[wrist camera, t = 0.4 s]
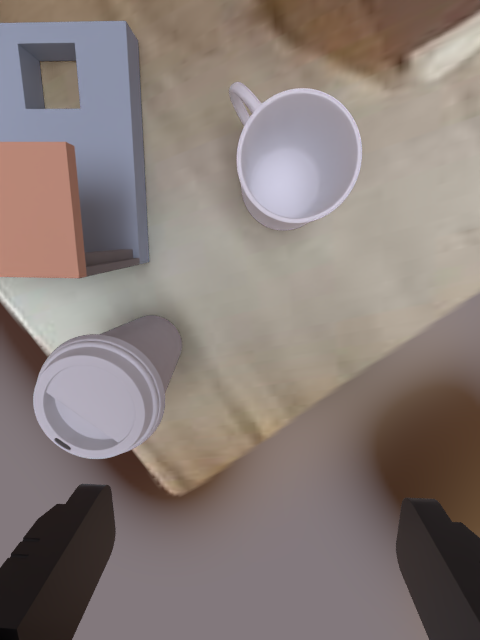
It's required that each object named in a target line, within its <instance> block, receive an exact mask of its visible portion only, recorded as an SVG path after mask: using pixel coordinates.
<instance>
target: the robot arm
mask: <svg viewBox="0 0 480 640" xmlns="http://www.w3.org/2000/svg"><path fill="white" fill-rule="evenodd" d="M114 541H115V520H114V511H113V502H112V493H111V488H110V486H109V485H95V484H81V485H79V486H78V487H77V489H76V490H75V491H74V493H73V494H72V495H71V497H70V498H69V500H68V501H67V502H66V504H56V505H55V506H54V507H53V508H52V509H50V510H49V511H48V512H46V513H45V514H44V515H43V516H41V517H40V518H39V519H38V520H37V521H36V522H35V524H34V525H33V526H32V527H31V529H30V530H29V531H28V533H27V534H26V535H25V536H24V538H23V541H22V542H20V543H19V544H18V546H17V547H16V548H15V550H14V551H13V552H12V553H11V557H10V558H8V559H7V560H6V561H5V562H4V564H3V565H2V566H1V568H0V640H72V638H73V636H74V634H75V632H76V630H77V627H78V625H79V623H80V621H81V619H82V616H83V614H84V612H85V610H86V608H87V606H88V603H89V601H90V599H91V597H92V595H93V592H94V590H95V588H96V586H97V584H98V582H99V579H100V577H101V575H102V573H103V571H104V568H105V566H106V564H107V562H108V560H109V557H110V555H111V552H112V549H113V546H114ZM396 553H397V559H398V564H399V568H400V571H401V573H402V575H403V578H404V580H405V583H406V585H407V587H408V590H409V592H410V595H411V597H412V599H413V602H414V604H415V606H416V609H417V611H418V614H419V616H420V619H421V621H422V623H423V626H424V628H425V630H426V633H427V635H428V637H429V640H480V538H479V537H478V536H477V535H475V534H474V533H473V532H472V531H471V530H469V529H468V528H467V527H466V526H465V525H464V524H463V523H461V522H452V521H451V520H450V518H449V517H448V515H447V514H446V512H445V511H444V509H443V508H442V506H441V505H440V503H439V502H438V501H437V500H435V499H421V498H405V499H404V500H403V501H402V507H401V513H400V520H399V527H398V534H397V541H396Z"/></svg>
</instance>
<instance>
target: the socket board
mask: <svg viewBox="0 0 480 640" xmlns="http://www.w3.org/2000/svg"><path fill="white" fill-rule="evenodd" d="M40 61H76V63H77V74H78V85H79V96H80V108H81V109H45V106H44V97H43V88H42V79H41V70H40ZM147 262H149V246H148V226H147V206H146V187H145V167H144V147H143V128H142V108H141V88H140V68H139V49H138V40H137V38H136V37H135V35H134V33H133V32H132V30H131V29H130V27H129V25H128V24H127V22H126V21H90V22H36V23H0V277H42V278H82V277H87V276H91V275H95V274H100V273H104V272H108V271H113V270H117V269H121V268H126V267H130V266H134V265H139V264H143V263H147Z"/></svg>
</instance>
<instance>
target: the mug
mask: <svg viewBox="0 0 480 640" xmlns="http://www.w3.org/2000/svg"><path fill="white" fill-rule="evenodd" d="M229 96H230V99H231V102H232V104H233V106H234V109H235V111H236V113H237V115H238V116H239V118H240V120H241V122H242V124H243V125H244V128H243V130H242V133H241V136H240V139H239V143H238V148H237V171H238V176H239V180H240V183H241V191H242V197H243V200H244V203H245V205H246V207H247V209H248V211H249V212H250V214H251V215H252V216H253V217H254V218H255V219H256V220H257V221H258V222H259V223H261V224H262V225H264V226H266V227H268V228H271V229H275V230H293V229H296V228H299V227H301V226H304V225H305V224H307V223H308V222H311V221H314V220H317V219H320V218H322V217H324V216H326V215H327V214H329V213H331V212H332V211H333V210H335V209H336V208H337V207H338V206H339V205H340V204H341V203H342V202H343V201H344V200H345V199H346V198H347V196H348V195H349V193H350V192H351V190H352V188H353V187H354V185H355V183H356V180H357V178H358V175H359V171H360V167H361V161H362V143H361V137H360V133H359V130H358V127H357V125H356V123H355V121H354V119H353V117H352V115H351V114H350V112H349V111H348V110H347V109H346V107H345V106H344V105H343V104H342V103H340V102H339V101H338V100H337V99H335V98H334V97H332V96H331V95H329V94H327V93H324V92H322V91H319V90H315V89H309V88H297V89H290V90H286V91H283V92H280V93H278V94H276V95H274V96H272V97H270V98H269V99H267V100H266V101H265V102H263V103H261V102H260V101H259V100H258V98H257V97H256V96H255V95H254V94H253V93H252V91H251V90H250V89H249V88H248V87H246V86H245V85H244V84H243V83H241V82H235V83H233V84H232V85H231V86H230V88H229ZM242 101H243V102H244V103H245V104H246V106H247V107H248V108H249V110H250V111H251V112H252V115H251V116H249V114H248V112H247V110H246V108H245V106H244V104H243V102H242Z"/></svg>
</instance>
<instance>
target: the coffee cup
mask: <svg viewBox="0 0 480 640" xmlns="http://www.w3.org/2000/svg"><path fill="white" fill-rule="evenodd" d="M181 351H182V340H181V336H180V334H179V332H178V330H177V328H176V327H175V326H174V325H173V324H172V323H171V322H170V321H168V320H167V319H165V318H162V317H160V316H154V315H148V316H143V317H140V318H138V319H135V320H133V321H131V322H128V323H126V324H123V325H121V326H119V327H116V328H114V329H111V330H109V331H107V332H104V333H102V334H99V335H97V334H92V335H83V336H79V337H75V338H73V339H70V340H68V341H66V342H64V343H63V344H61V345H60V346H59V347H57V348H56V349H55V350H54V351H53V352H52V353H51V355H50V356H49V357H48V358H47V360H46V362H45V363H44V364H43V366H42V368H41V371H40V373H39V376H38V379H37V383H36V386H35V390H34V395H33V396H34V397H33V404H34V411H35V415H36V418H37V420H38V422H39V424H40V426H41V428H42V430H43V431H44V432H45V434H46V435H47V436H48V437H49V438H50V439H51V440H52V441H53V442H54V443H55V444H56V445H58V446H59V447H60V448H62V449H64V450H65V451H67V452H69V453H71V454H74V455H77V456H80V457H84V458H91V459H104V458H109V457H113V456H116V455H118V454H121V453H124V452H127V451H129V450H131V449H133V448H135V447H137V446H139V445H140V444H142V443H143V442H144V441H145V440H147V439H148V438H149V437H150V436H151V435H152V434H153V433H154V431H155V430H156V429H157V427H158V426H159V424H160V422H161V419H162V417H163V413H164V408H165V392H166V390H167V387H168V385H169V382H170V379H171V377H172V374H173V372H174V369H175V367H176V364H177V362H178V359H179V357H180V354H181Z"/></svg>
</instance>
